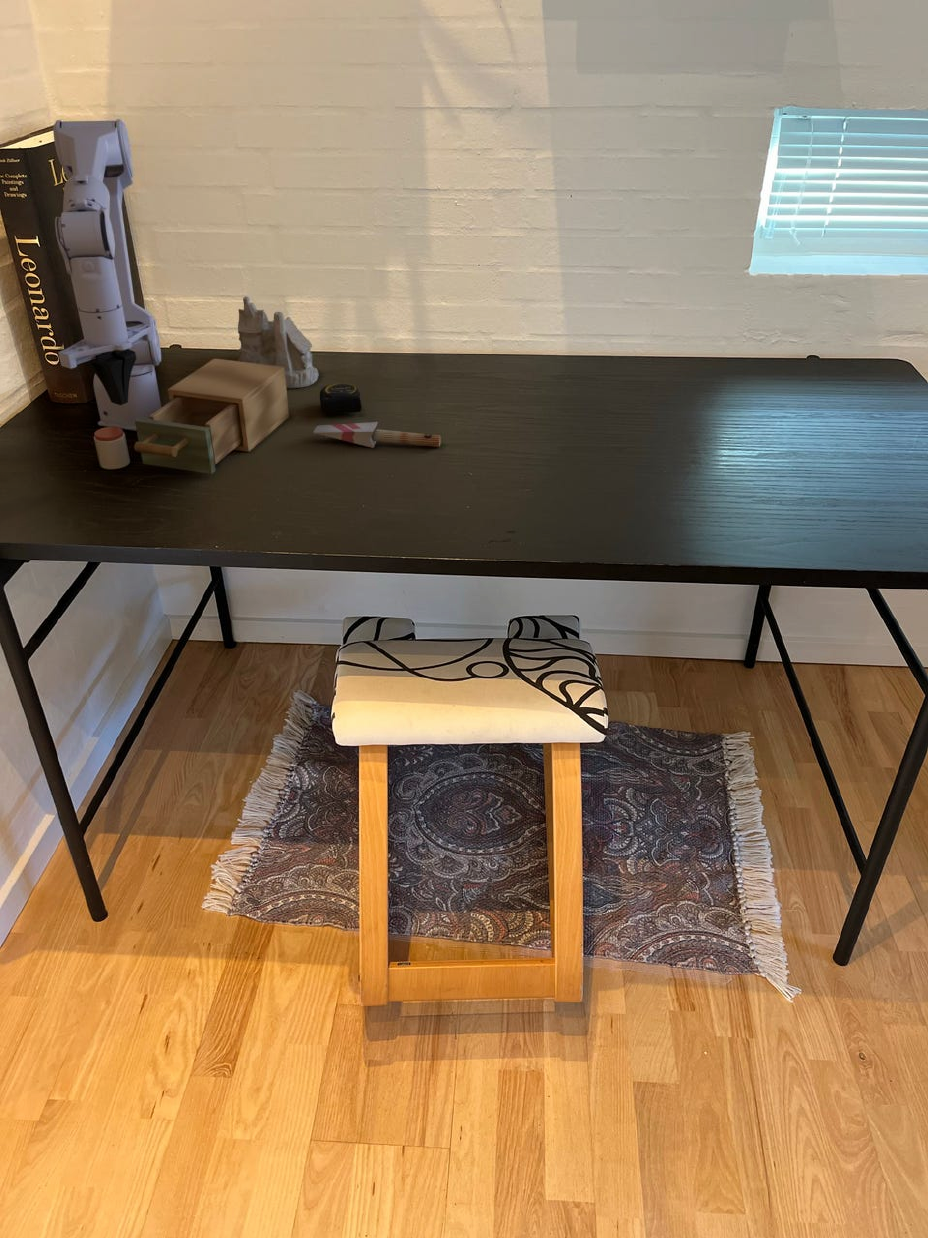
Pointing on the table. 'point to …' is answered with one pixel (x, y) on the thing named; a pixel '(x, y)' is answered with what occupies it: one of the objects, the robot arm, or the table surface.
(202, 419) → the drawer
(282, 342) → the ceramic cottage
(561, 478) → the table surface
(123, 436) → the paint pot
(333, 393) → the tape measure
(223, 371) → the cabinet
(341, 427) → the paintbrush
